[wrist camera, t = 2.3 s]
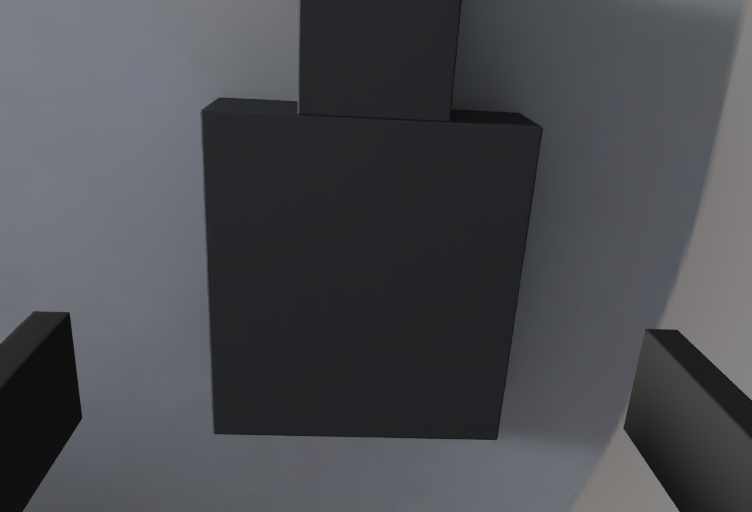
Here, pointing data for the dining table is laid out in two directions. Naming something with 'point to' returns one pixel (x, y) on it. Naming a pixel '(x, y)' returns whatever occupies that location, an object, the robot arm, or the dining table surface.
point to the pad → (365, 236)
